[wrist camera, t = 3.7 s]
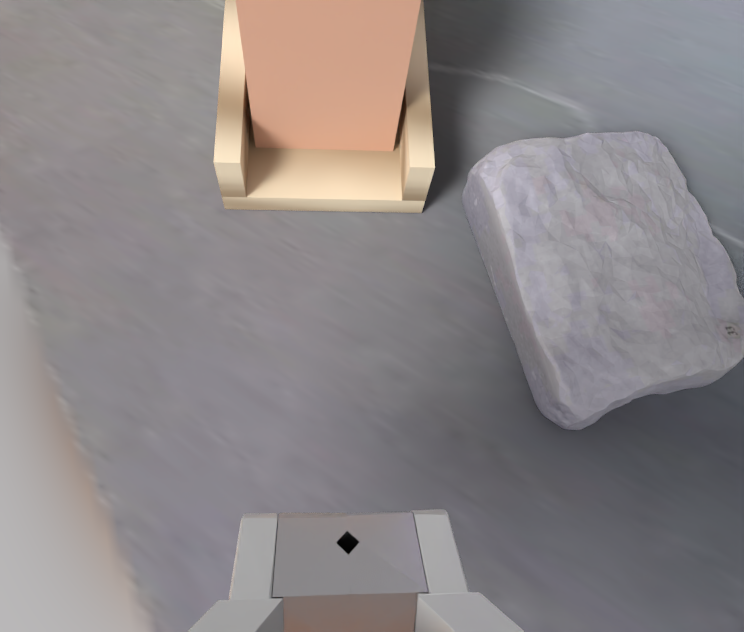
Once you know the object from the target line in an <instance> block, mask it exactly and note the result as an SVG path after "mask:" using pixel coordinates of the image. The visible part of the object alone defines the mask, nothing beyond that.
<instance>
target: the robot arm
mask: <svg viewBox="0 0 744 632" xmlns="http://www.w3.org/2000/svg"><path fill="white" fill-rule="evenodd" d="M187 632H525V631H523V630H522V629H521V628H520V627H519V626H518V625H517V624H515V623H514V622H513V621H512V620H511V619H510V618H509V617H507V616H506V615H505V614H504V613H503V612H502V611H501V610H499V609H498V608H497V607H496V606H495V605H494V604H493V603H491V602H490V601H489V600H488V599H487V598H486V597H485V596H483V595H482V594H481V593H480V592H469V589H468V585H467V581H466V577H465V574H464V570H463V566H462V563H461V559H460V555H459V552H458V548H457V544H456V541H455V537H454V533H453V530H452V526H451V522H450V519H449V515H448V513H447V512H446V511H445V510H444V509H435V510H412V511H411V512H410V511H404V512H368V513H279V514H277V513H244V515H243V517H242V519H241V524H240V530H239V536H238V543H237V549H236V555H235V562H234V568H233V575H232V581H231V587H230V594H229V600H218V601H217V602H216V603H215V604H214V605H213V606H212V607H211V608H210V609H209V610H208V611H207V612H206V613H205V614H204V615H203V616H202V617H201V618H200V619H199V620H198V621H197V622H196V623H195V624H194V625H193V626H192V627H191V628H190V629H189V630H188V631H187Z"/></svg>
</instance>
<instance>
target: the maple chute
mask: <svg viewBox="0 0 744 632" xmlns="http://www.w3.org/2000/svg"><path fill="white" fill-rule="evenodd" d="M214 166H215V170H216V174H217V178H218V182H219V186H220V190H221V195H222V199H223V203H224V207H225V209H245V210H298V211H350V212H403V213H422V210H423V207H424V204H425V200H426V197H427V193H428V190H429V187H430V183H431V180H432V176H433V173H434V170H435V160H434V146H433V132H432V118H431V103H430V89H429V75H428V61H427V46H426V32H425V18H424V4H423V0H421V3H420V8H419V14H418V19H417V24H416V30H415V35H414V41H413V46H412V51H411V57H410V62H409V68H408V73H407V78H406V84H405V89H404V95H403V100H402V106H401V111H400V116H399V122H398V127H397V133H396V138H395V143H394V149H393V151H363V150H326V149H289V148H256V146H255V139H254V131H253V124H252V117H251V109H250V102H249V95H248V88H247V80H246V73H245V66H244V58H243V51H242V44H241V36H240V29H239V22H238V14H237V7H236V0H225V12H224V26H223V40H222V54H221V68H220V82H219V95H218V109H217V123H216V137H215V151H214Z"/></svg>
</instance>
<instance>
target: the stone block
mask: <svg viewBox="0 0 744 632" xmlns="http://www.w3.org/2000/svg"><path fill="white" fill-rule="evenodd" d="M467 179H468V182H467V183H466V185H465V187H464V190H463V194H462V203H463V207H464V210H465V213H466V216H467V220H468V222H469V225H470V228H471V230H472V233H473V236H474V238H475V241H476V243H477V246H478V249H479V251H480V254H481V257H482V259H483V262H484V265H485V267H486V270H487V273H488V276H489V278H490V281H491V284H492V287H493V289H494V292H495V294H496V297H497V299H498V302H499V305H500V307H501V310H502V313H503V316H504V319H505V322H506V325H507V327H508V330H509V333H510V335H511V338H512V340H513V342H514V344H515V346H516V351H517V354H518V357H519V359H520V362H521V365H522V367H523V370H524V373H525V376H526V379H527V382H528V385H529V388H530V390H531V392H532V395H533V398H534V401H535V403H536V405H537V407H538V409H539V410H540V412H541V413H542V415H543V416H544V417H546V418H548V419H549V420H551V421H552V422H554V423H555V424H557V425H558V426H560V427H561V428H563V429H569V430H581V429H583V428H585V427H587V426H589V425H592V424H594V423H595V422H596V421H597V420H599V418H600V417H601V416H603V415H604V414H606V413H608V412H609V411H611V410H613V409H615V408H618V407H620V406H623V405H624V404H626V403H629V402H630V401H632V400H633V399H636V398H639V397H642V396H646V395H649V394H668V393H672V392H676V391H679V390H683V389H692V388H698V387H702V386H706V385H709V384H711V383H713V382H714V381H716V380H718V379H720V378H722V377H723V375H724V374H726V373H727V372H728V371H729V370H731V369H732V368H733V367H735V366H736V365H737V364H738V363H739V362H740V361H741V360H742V359H743V358H744V298H743V297H742V296H741V294H740V292H739V289H738V286H737V284H736V277H737V276H736V272H735V269H734V267H733V264H732V262H731V260H730V257H729V256H728V254H727V252H726V250H725V248H724V247H723V245H722V244H721V243H720V242H719V240H718V239H717V238H716V237H714V236H713V234H712V230H711V227H710V225H709V223H708V220H707V216H706V215H705V213H704V212H703V210H702V209H701V207H700V205H699V203H698V202H697V200H696V198H695V197H694V196H693V195H692V194H691V193H690V192H689V191H688V189H687V186H686V181H687V180H686V179H685V177H684V176H683V174H682V172H681V171H680V169H679V167H678V165H677V164H676V162H675V160H674V159H673V157H672V156H671V154H670V153H669V151H668V149H667V147H666V146H664V145H663V144H662V142H661V140H659V139H658V138H657V137H655V136H653V137H652V136H651V135H650V134H647V133H643V132H639V131H631V132H624V133H618V132H609V133H584V134H581V135H578V136H574V137H569V138H555V137H546V138H531V139H526V140H518V141H514V142H511V143H508V144H505V145H501V146H498V147H496V148H495V149H493V150H492V151H491V152H490V153H488V154H487V155H486V156H484V157H483V158H482V159H481V160H480V161H479V162H477V163H476V164H475V166H474V167H472V168H471V170H470V171H469V174H468V177H467Z"/></svg>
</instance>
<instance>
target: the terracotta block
mask: <svg viewBox="0 0 744 632" xmlns="http://www.w3.org/2000/svg"><path fill="white" fill-rule="evenodd" d="M420 3H421V0H236V7H237V14H238V22H239V29H240V36H241V44H242V51H243V58H244V66H245V73H246V80H247V88H248V95H249V102H250V109H251V117H252V124H253V131H254V139H255V146H256V148H289V149H326V150H363V151H393V149H394V143H395V138H396V133H397V127H398V122H399V116H400V111H401V106H402V100H403V95H404V89H405V84H406V78H407V73H408V68H409V62H410V57H411V51H412V46H413V41H414V35H415V30H416V24H417V19H418V14H419V8H420Z"/></svg>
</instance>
